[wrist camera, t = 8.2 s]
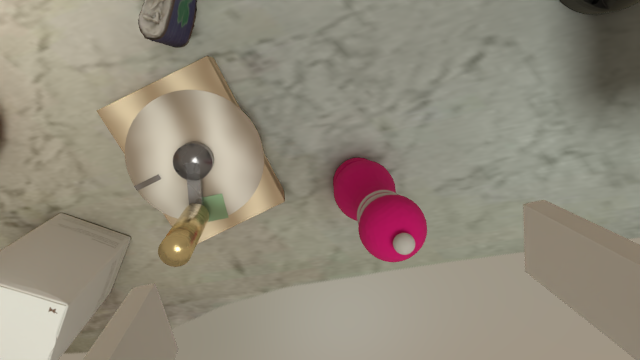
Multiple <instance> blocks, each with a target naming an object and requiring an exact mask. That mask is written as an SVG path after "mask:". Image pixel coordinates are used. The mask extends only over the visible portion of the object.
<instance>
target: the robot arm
mask: <svg viewBox="0 0 640 360" xmlns="http://www.w3.org/2000/svg"><path fill="white" fill-rule="evenodd" d="M560 1H561V2H562V3H564V4H565V5H566V6H567V7H569V8H571V9H572V10H574V11H577V12H580V13H583V14H592V15H593V14H603V13H608V12H613V11H618V10H622V9H625V8H627V7H630V6H632V5H634V4H636V3H638V2H640V0H560ZM523 213H524V247H525V272H526V273H528V274H529V275H530V276H531V277H533V278H534V279H535V280H537V281H538V282H539V283H540V284H541V285H543V286H544V287H545V288H547V289H548V290H549V291H550V292H551V293H553V294H554V295H555V296H557V297H558V298H559V299H560V300H562V301H563V302H564V303H565V304H567V305H568V306H569V307H570V308H572V309H573V310H574V311H575V312H577V313H578V314H579V315H580V316H582V317H583V318H584V319H585V320H587V321H588V322H589V323H590V324H592V325H593V326H594V327H596V328H597V329H598V330H599V331H600V332H602V333H603V334H604V335H605V336H607V337H608V338H609V339H611V340H612V341H613V342H614V343H616V344H617V345H618V346H619V347H621V348H622V349H623V350H624V351H626V352H627V353H628V354H629V355H631V356H632V357H633V358H634V359H636V360H640V245H639V244H637V243H635V242H633V241H631V240H629V239H627V238H624V237H622V236H620V235H618V234H616V233H614V232H612V231H609V230H607V229H605V228H603V227H601V226H599V225H597V224H595V223H592V222H590V221H588V220H586V219H584V218H582V217H580V216H577V215H575V214H573V213H571V212H569V211H567V210H565V209H563V208H560V207H558V206H556V205H554V204H552V203H550V202H548V201H545V200H540V201H535V202H530V203H526V204H523ZM177 352H178V347H177V344H176V341H175V339H174V336H173V333H172V330H171V327H170V324H169V321H168V318H167V316H166V313H165V310H164V307H163V304H162V301H161V298H160V296H159V293H158V290H157V287H156V284H155V283H153V284H148V285H144V286H139V287H134V288H132V289H131V291H130V292H129V294H128V295H127V297H126V298H125V299H124V301H123V302H122V304H121V305H120V307H119V308H118V310H117V311H116V312H115V314H114V315H113V317H112V318H111V320H110V321H109V323H108V324H107V325H106V327H105V328H104V330H103V331H102V333H101V334H100V336H99V337H98V338H97V340H96V341H95V343H94V344H93V346H92V347H91V349H90V350H89V351H88V353H87V354H86V356H85V357H84V359H83V360H175V357H176V354H177Z"/></svg>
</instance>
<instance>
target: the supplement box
mask: <svg viewBox="0 0 640 360" xmlns="http://www.w3.org/2000/svg"><path fill="white" fill-rule="evenodd" d="M130 239H131V237H129V236H126V235H124V234H121V233H118V232H115V231H112V230H109V229H106V228H104V227H101V226H98V225H95V224H92V223H89V222H87V221H84V220H81V219H78V218H75V217H72V216H69V215H66V214H63V213H59V214H58V215H56V216H55V217H53V218H51V219H50V220H48V221H47V222H45V223H43V224H42V225H40V226H39V227H37V228H36V229H34V230H32V231H31V232H29V233H28V234H26V235H24V236H23V237H21V238H20V239H18V240H16V241H15V242H13V243H12V244H10V245H9V246H7V247H5V248H4V249H2V250H1V251H0V360H59V358H60V357H61V356H62V355H63V353H64V352H65V351H66V349H67V348H68V347H69V345H70V344H71V343H72V342H73V340H74V339H75V338H76V336H77V335H78V334H79V332H80V331H81V330H82V329H83V327H84V326H85V325H86V323H87V322H88V321H89V320H90V318H91V317H92V316H93V314H94V313H95V312H96V310H97V309H98V308H99V307H100V305H101V304H102V303H103V301H104V300H105V299H106V297H107V296H108V295H109V294H110V292H111V290H112V287H113V284H114V282H115V279H116V277H117V274H118V271H119V269H120V266H121V263H122V261H123V258H124V256H125V253H126V250H127V248H128V245H129V242H130Z"/></svg>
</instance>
